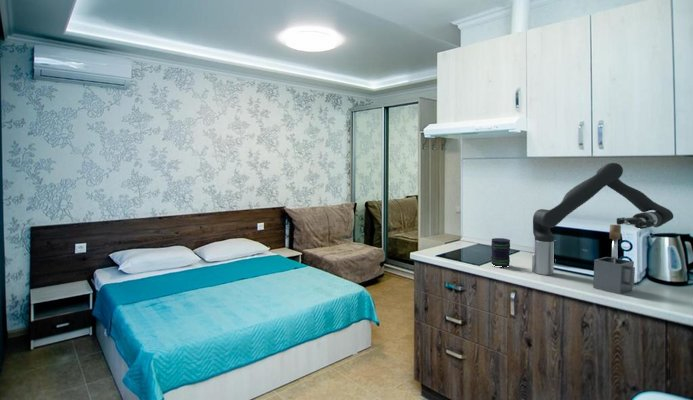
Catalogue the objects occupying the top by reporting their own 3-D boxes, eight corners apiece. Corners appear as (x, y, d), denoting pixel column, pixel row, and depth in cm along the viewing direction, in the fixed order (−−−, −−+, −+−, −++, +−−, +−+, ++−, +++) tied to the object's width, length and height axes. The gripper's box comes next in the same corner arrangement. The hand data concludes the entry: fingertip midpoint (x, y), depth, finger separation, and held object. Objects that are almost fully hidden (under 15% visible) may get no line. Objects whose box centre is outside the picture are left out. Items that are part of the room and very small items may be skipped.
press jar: (593, 287, 179) (594, 259, 178) (605, 284, 184) (606, 256, 183) (626, 295, 167) (627, 265, 166) (638, 291, 173) (640, 262, 172)
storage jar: (497, 263, 228) (497, 237, 227) (513, 266, 220) (513, 239, 219) (487, 265, 222) (487, 239, 221) (503, 269, 214) (503, 241, 213)
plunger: (597, 272, 178) (599, 224, 176) (607, 269, 182) (609, 223, 181) (619, 277, 170) (621, 227, 169) (629, 274, 175) (631, 225, 173)
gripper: (628, 211, 195) (611, 213, 186) (662, 213, 183) (646, 216, 174) (627, 226, 195) (611, 229, 187) (662, 229, 183) (646, 233, 175)
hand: (628, 223), depth 181 cm, fingers open, 8 cm apart
